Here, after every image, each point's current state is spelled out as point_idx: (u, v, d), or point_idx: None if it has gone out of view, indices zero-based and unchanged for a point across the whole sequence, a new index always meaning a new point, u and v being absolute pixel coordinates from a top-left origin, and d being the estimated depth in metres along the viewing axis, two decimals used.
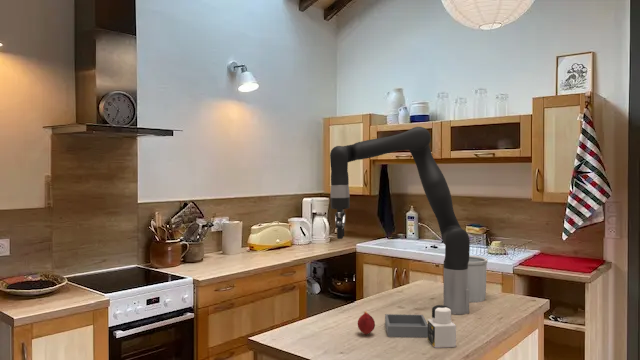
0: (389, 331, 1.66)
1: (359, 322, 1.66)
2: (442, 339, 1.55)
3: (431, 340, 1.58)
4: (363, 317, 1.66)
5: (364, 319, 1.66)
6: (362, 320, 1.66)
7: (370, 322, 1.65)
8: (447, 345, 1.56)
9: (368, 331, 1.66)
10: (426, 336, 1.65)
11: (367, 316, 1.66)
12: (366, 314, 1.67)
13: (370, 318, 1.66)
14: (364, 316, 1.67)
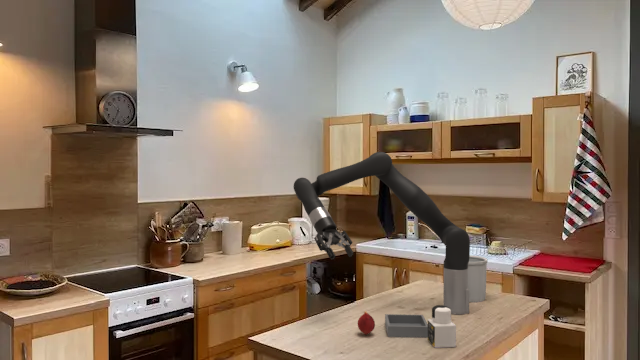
0: (389, 331, 1.66)
1: (359, 322, 1.66)
2: (442, 339, 1.55)
3: (431, 340, 1.58)
4: (363, 317, 1.66)
5: (364, 319, 1.66)
6: (362, 320, 1.66)
7: (370, 322, 1.65)
8: (447, 345, 1.56)
9: (368, 331, 1.66)
10: (426, 336, 1.65)
11: (367, 316, 1.66)
12: (366, 314, 1.67)
13: (370, 318, 1.66)
14: (364, 316, 1.67)
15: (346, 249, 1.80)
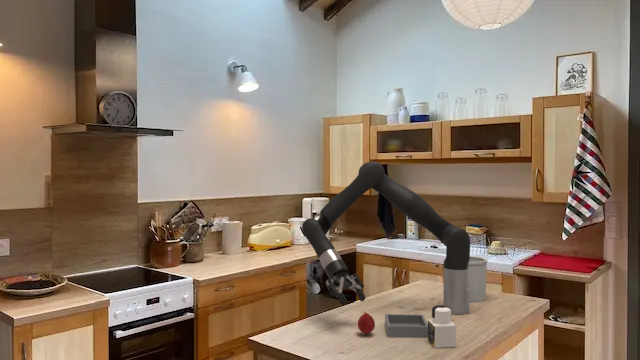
0: (389, 331, 1.66)
1: (359, 322, 1.66)
2: (442, 339, 1.55)
3: (431, 340, 1.58)
4: (363, 317, 1.66)
5: (364, 319, 1.66)
6: (362, 320, 1.66)
7: (370, 322, 1.65)
8: (447, 345, 1.56)
9: (368, 331, 1.66)
10: (426, 336, 1.65)
11: (367, 316, 1.66)
12: (366, 314, 1.67)
13: (370, 318, 1.66)
14: (364, 316, 1.67)
15: (358, 293, 1.76)
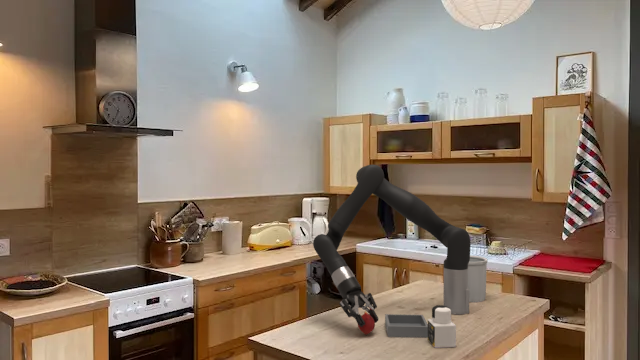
0: (389, 331, 1.66)
1: None
2: (442, 339, 1.55)
3: (431, 340, 1.58)
4: (363, 317, 1.66)
5: (364, 319, 1.66)
6: None
7: (370, 322, 1.65)
8: (447, 345, 1.56)
9: (368, 331, 1.66)
10: (426, 336, 1.65)
11: (367, 316, 1.66)
12: (366, 314, 1.67)
13: (370, 318, 1.66)
14: (364, 316, 1.67)
15: (370, 314, 1.70)
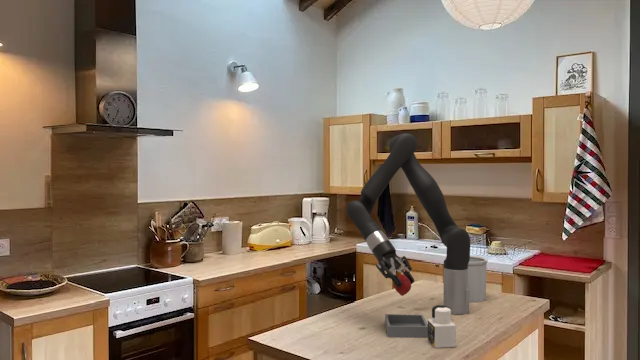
0: (389, 331, 1.66)
1: None
2: (442, 339, 1.55)
3: (431, 340, 1.58)
4: (400, 278, 1.70)
5: (401, 280, 1.69)
6: None
7: (406, 283, 1.69)
8: (447, 345, 1.56)
9: (405, 291, 1.69)
10: (426, 336, 1.65)
11: (403, 277, 1.70)
12: (402, 275, 1.70)
13: (407, 279, 1.70)
14: (400, 277, 1.70)
15: (406, 276, 1.73)
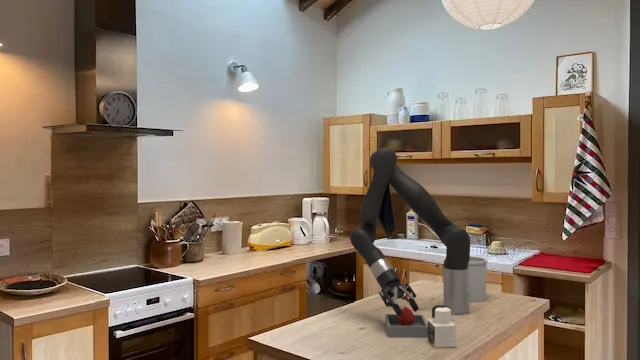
0: (389, 331, 1.66)
1: None
2: (442, 339, 1.55)
3: (431, 340, 1.58)
4: (403, 310, 1.71)
5: (404, 312, 1.70)
6: None
7: (410, 316, 1.70)
8: (447, 345, 1.56)
9: (408, 324, 1.70)
10: (426, 336, 1.65)
11: (407, 310, 1.71)
12: (406, 308, 1.72)
13: (410, 312, 1.71)
14: (404, 309, 1.71)
15: (411, 303, 1.75)
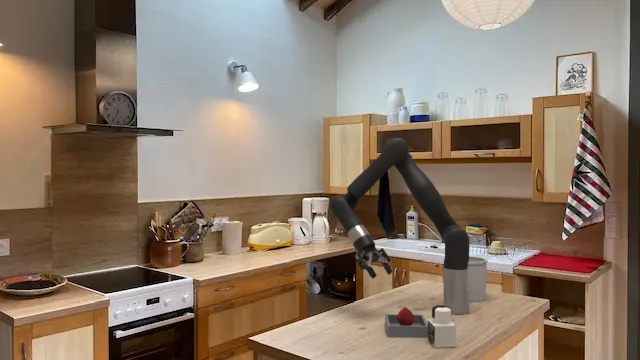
0: (389, 331, 1.66)
1: (399, 316, 1.71)
2: (442, 339, 1.55)
3: (431, 340, 1.58)
4: (403, 311, 1.71)
5: (404, 313, 1.70)
6: (402, 314, 1.70)
7: (409, 317, 1.69)
8: (447, 345, 1.56)
9: (408, 325, 1.70)
10: (426, 336, 1.65)
11: (406, 311, 1.70)
12: (406, 308, 1.71)
13: (410, 313, 1.70)
14: (404, 310, 1.71)
15: (385, 267, 1.85)
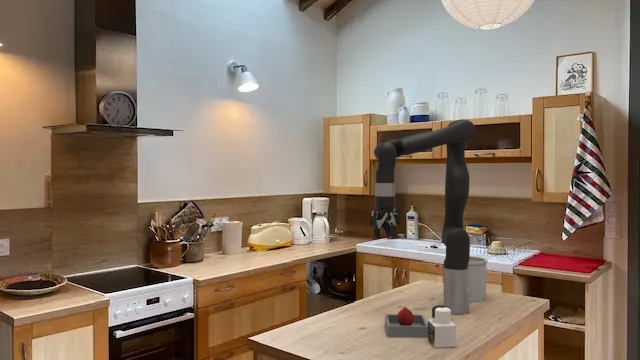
0: (389, 331, 1.66)
1: (399, 316, 1.71)
2: (442, 339, 1.55)
3: (431, 340, 1.58)
4: (403, 311, 1.71)
5: (404, 313, 1.70)
6: (402, 314, 1.70)
7: (409, 317, 1.69)
8: (447, 345, 1.56)
9: (408, 325, 1.70)
10: (426, 336, 1.65)
11: (406, 311, 1.70)
12: (405, 308, 1.71)
13: (410, 313, 1.70)
14: (403, 310, 1.71)
15: (391, 228, 1.92)
